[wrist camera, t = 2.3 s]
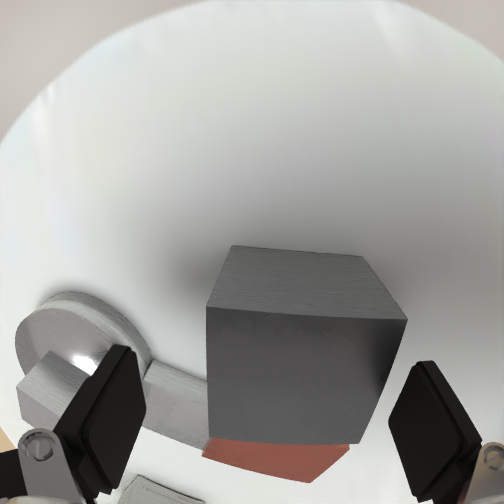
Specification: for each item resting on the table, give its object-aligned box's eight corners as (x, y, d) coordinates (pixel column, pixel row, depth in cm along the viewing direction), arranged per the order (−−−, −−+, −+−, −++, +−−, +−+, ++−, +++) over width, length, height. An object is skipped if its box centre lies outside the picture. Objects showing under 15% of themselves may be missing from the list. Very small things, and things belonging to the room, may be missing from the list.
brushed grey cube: (361, 256, 14) (407, 319, 9) (338, 361, 16) (358, 443, 11) (232, 245, 15) (206, 306, 9) (227, 353, 17) (208, 437, 11)
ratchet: (40, 365, 19) (-6, 416, 13) (43, 267, 16) (-28, 314, 10) (294, 470, 20) (295, 538, 14) (362, 402, 18) (383, 484, 11)
